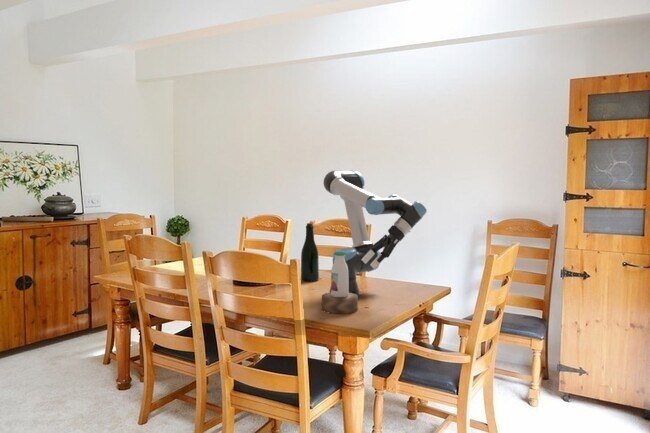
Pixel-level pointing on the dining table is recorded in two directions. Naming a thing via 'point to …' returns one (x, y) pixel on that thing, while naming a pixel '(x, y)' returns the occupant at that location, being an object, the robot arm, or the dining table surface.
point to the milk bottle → (339, 276)
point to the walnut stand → (340, 303)
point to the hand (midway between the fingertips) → (367, 264)
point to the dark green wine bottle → (309, 257)
